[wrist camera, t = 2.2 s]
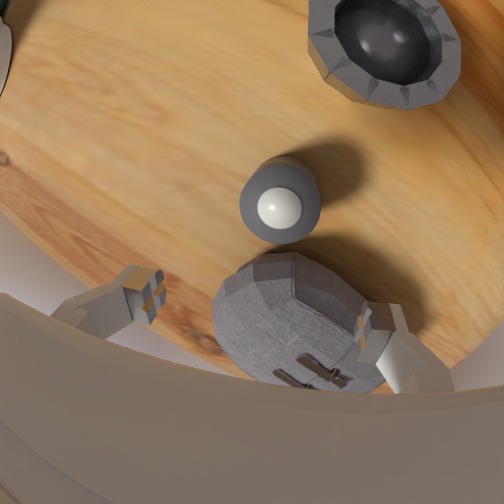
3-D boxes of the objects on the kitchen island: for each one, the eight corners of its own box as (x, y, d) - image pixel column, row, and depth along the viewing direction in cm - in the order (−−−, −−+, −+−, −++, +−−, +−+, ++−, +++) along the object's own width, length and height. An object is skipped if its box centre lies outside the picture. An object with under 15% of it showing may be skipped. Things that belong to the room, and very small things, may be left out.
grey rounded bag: (409, 324, 28) (284, 207, 24) (424, 382, 20) (271, 257, 17) (316, 379, 35) (195, 299, 31) (312, 431, 28) (166, 353, 24)
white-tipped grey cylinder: (250, 215, 25) (238, 239, 21) (253, 152, 22) (240, 165, 18) (313, 222, 24) (314, 250, 20) (322, 160, 21) (326, 174, 17)
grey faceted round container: (305, 94, 18) (305, 90, 14) (310, -13, 13) (309, -43, 9) (425, 119, 17) (456, 126, 12) (428, 15, 12) (456, -2, 7)
